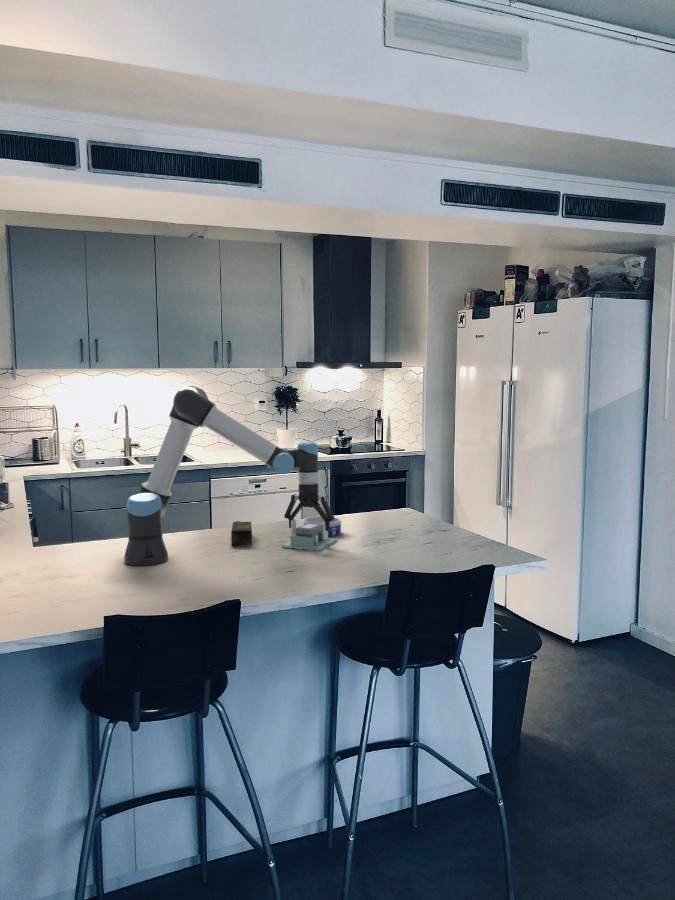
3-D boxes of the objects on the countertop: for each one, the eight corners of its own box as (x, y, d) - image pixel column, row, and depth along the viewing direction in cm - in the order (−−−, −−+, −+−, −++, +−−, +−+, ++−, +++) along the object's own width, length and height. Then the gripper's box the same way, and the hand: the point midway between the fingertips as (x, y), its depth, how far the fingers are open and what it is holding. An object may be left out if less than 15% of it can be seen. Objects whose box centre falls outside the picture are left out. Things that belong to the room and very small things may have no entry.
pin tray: (281, 547, 274) (281, 536, 274) (299, 538, 289) (299, 527, 288) (320, 551, 268) (320, 539, 268) (336, 541, 283) (336, 530, 282)
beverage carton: (252, 535, 297) (251, 519, 296) (252, 546, 278) (251, 529, 277) (232, 536, 296) (232, 520, 295) (231, 547, 277) (230, 530, 276)
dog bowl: (323, 528, 308) (323, 514, 307) (348, 533, 297) (348, 519, 296) (296, 534, 298) (295, 519, 297) (320, 540, 286) (320, 525, 286)
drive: (308, 538, 284) (308, 522, 284) (323, 539, 281) (322, 524, 281) (295, 544, 275) (295, 528, 275) (310, 545, 272) (310, 529, 272)
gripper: (274, 482, 277) (276, 537, 279) (334, 485, 268) (335, 542, 270) (283, 479, 284) (284, 533, 286) (342, 482, 274) (343, 537, 277)
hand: (309, 537), depth 278 cm, fingers open, 13 cm apart
